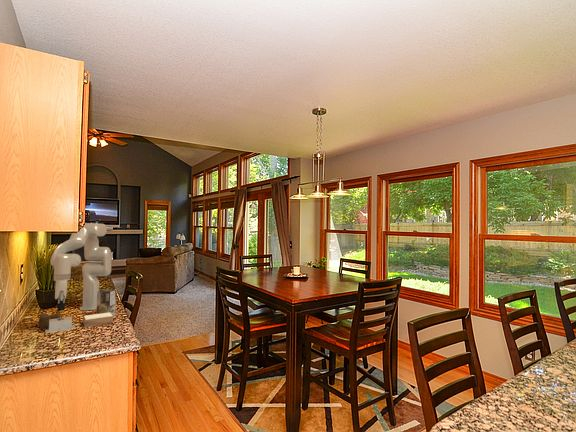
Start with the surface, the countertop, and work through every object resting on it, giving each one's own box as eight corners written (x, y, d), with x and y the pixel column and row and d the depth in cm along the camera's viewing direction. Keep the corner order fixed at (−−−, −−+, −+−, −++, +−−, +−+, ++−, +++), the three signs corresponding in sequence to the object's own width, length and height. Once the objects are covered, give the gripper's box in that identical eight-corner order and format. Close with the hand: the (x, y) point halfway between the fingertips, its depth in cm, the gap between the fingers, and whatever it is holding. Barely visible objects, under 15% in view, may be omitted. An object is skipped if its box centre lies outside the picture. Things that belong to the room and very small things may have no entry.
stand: (83, 323, 187) (83, 315, 187) (110, 319, 195) (110, 312, 196) (84, 327, 180) (84, 319, 180) (112, 323, 188) (112, 315, 188)
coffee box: (116, 315, 206) (116, 289, 206) (109, 317, 199) (110, 291, 200) (102, 314, 206) (103, 289, 207) (95, 317, 200) (96, 291, 201)
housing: (45, 330, 174) (45, 319, 174) (74, 326, 182) (74, 315, 182) (45, 333, 169) (45, 322, 170) (75, 328, 177) (75, 318, 177)
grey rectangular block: (33, 331, 174) (42, 320, 192) (55, 329, 178) (61, 319, 196) (34, 320, 174) (42, 310, 192) (55, 318, 179) (62, 309, 196)
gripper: (53, 276, 181) (52, 307, 180) (54, 279, 168) (52, 313, 166) (69, 275, 186) (68, 305, 185) (71, 278, 172) (69, 311, 171)
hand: (60, 309), depth 176 cm, fingers open, 9 cm apart
